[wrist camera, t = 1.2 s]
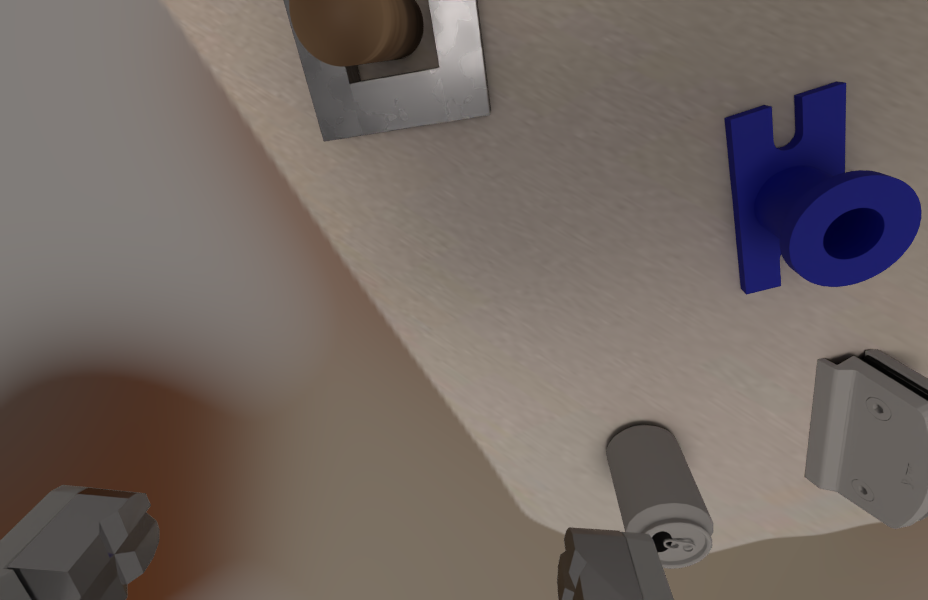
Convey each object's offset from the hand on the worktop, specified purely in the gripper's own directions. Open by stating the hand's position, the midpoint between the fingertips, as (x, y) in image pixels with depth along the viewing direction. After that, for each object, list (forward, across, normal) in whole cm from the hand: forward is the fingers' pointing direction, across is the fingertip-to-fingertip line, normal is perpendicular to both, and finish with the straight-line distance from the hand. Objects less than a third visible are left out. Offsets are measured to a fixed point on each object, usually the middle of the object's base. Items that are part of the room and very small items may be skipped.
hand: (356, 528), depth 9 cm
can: (+33, -21, +28) cm, 48 cm away
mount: (+33, -26, 0) cm, 42 cm away
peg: (+33, +5, -10) cm, 35 cm away
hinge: (+33, -41, +22) cm, 57 cm away
